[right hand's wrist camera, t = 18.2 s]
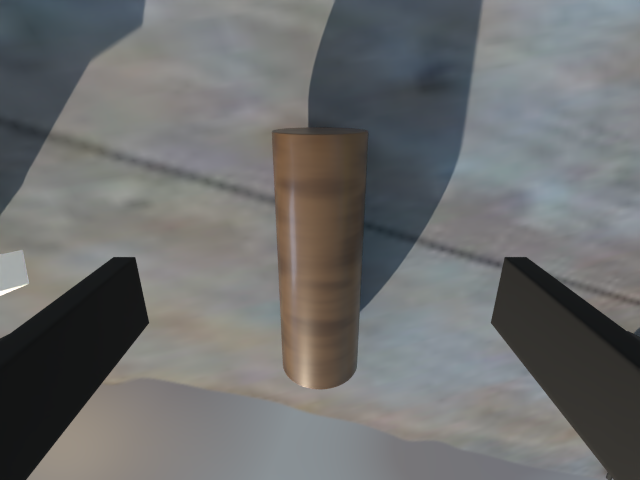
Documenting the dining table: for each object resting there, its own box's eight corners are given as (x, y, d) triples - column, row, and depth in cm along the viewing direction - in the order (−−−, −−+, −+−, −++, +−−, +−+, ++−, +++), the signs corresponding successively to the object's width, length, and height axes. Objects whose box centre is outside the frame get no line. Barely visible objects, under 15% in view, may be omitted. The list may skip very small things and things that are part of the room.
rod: (277, 127, 37) (265, 134, 28) (362, 127, 37) (375, 134, 28) (286, 338, 46) (279, 389, 38) (353, 338, 46) (361, 389, 38)
